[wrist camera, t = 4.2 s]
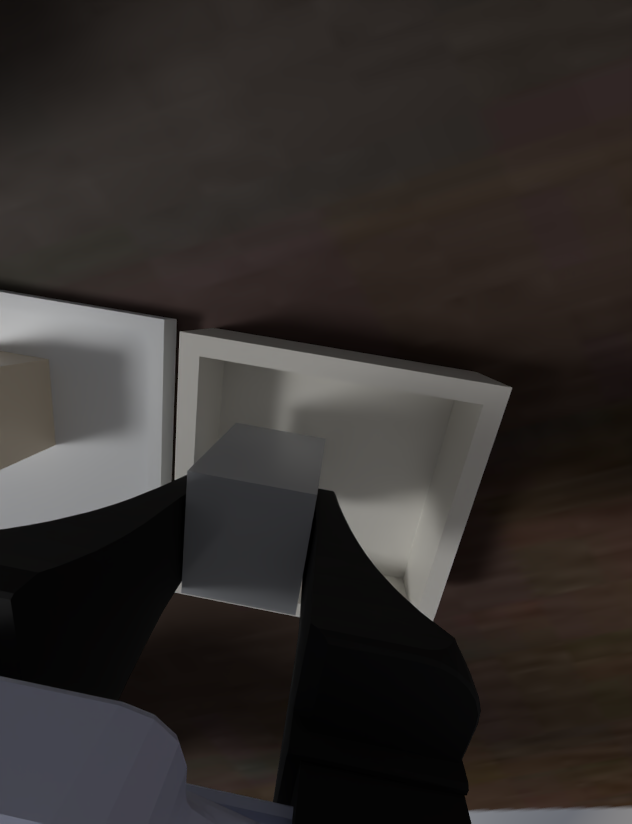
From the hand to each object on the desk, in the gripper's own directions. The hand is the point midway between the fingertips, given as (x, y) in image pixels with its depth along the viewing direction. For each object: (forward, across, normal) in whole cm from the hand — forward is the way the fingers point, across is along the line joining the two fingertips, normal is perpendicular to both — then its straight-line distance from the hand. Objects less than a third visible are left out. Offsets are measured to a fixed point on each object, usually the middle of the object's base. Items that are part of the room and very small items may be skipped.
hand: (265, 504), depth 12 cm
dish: (+4, -2, 0) cm, 4 cm away
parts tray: (+4, +10, +2) cm, 11 cm away
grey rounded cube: (+1, 0, 0) cm, 1 cm away
